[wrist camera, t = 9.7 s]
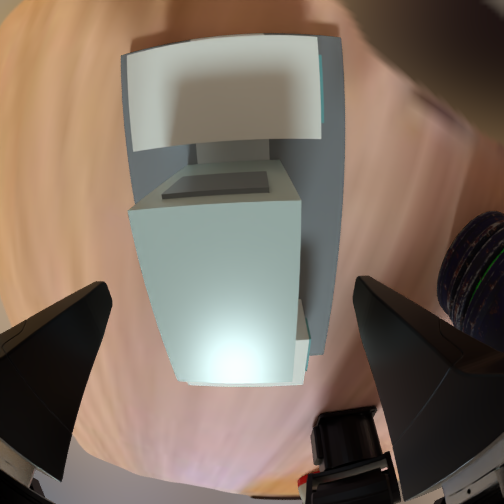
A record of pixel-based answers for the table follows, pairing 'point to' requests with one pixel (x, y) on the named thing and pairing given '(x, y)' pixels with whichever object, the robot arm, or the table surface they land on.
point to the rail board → (302, 172)
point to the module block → (223, 269)
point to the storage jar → (476, 280)
